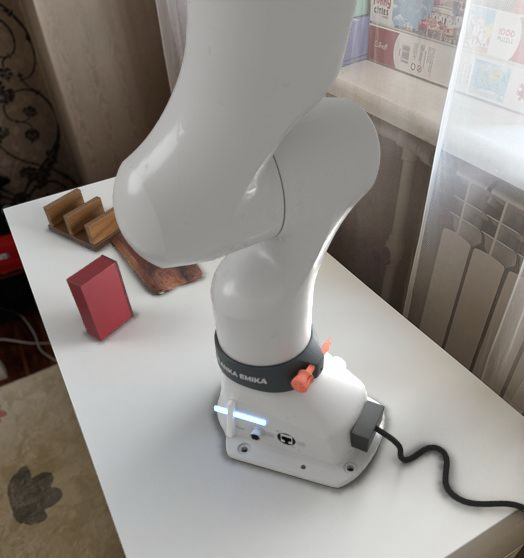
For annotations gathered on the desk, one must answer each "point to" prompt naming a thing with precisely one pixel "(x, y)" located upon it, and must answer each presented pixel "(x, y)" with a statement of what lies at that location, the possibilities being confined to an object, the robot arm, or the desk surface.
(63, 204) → the book rack
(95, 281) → the book
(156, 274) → the brown flat bent piece
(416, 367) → the desk surface
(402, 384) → the desk surface
